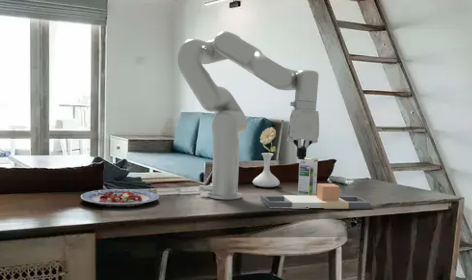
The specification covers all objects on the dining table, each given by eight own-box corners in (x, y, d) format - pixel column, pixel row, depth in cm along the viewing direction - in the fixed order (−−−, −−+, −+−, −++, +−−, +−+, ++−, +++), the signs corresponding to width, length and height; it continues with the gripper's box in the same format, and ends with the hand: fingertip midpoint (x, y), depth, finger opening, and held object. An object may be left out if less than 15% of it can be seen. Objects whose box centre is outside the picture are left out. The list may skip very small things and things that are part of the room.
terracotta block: (322, 200, 182) (322, 186, 182) (316, 197, 188) (317, 183, 188) (338, 200, 184) (339, 186, 183) (332, 197, 189) (333, 183, 189)
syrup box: (297, 195, 203) (298, 157, 202) (302, 192, 208) (304, 156, 207) (311, 196, 200) (313, 158, 199) (316, 194, 205) (318, 157, 204)
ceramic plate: (77, 196, 186) (77, 187, 186) (150, 194, 195) (150, 186, 195) (84, 211, 162) (84, 202, 162) (166, 208, 171) (166, 199, 171)
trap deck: (268, 208, 176) (269, 202, 176) (260, 200, 189) (260, 195, 189) (370, 208, 182) (370, 202, 182) (355, 201, 195) (355, 195, 195)
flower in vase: (248, 184, 223) (251, 125, 221) (273, 184, 227) (276, 126, 225) (259, 189, 211) (261, 127, 209) (285, 189, 214) (288, 128, 212)
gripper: (287, 105, 177) (282, 159, 179) (329, 108, 180) (325, 161, 181) (281, 104, 184) (277, 156, 186) (322, 107, 187) (318, 158, 189)
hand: (301, 158), depth 184 cm, fingers closed
